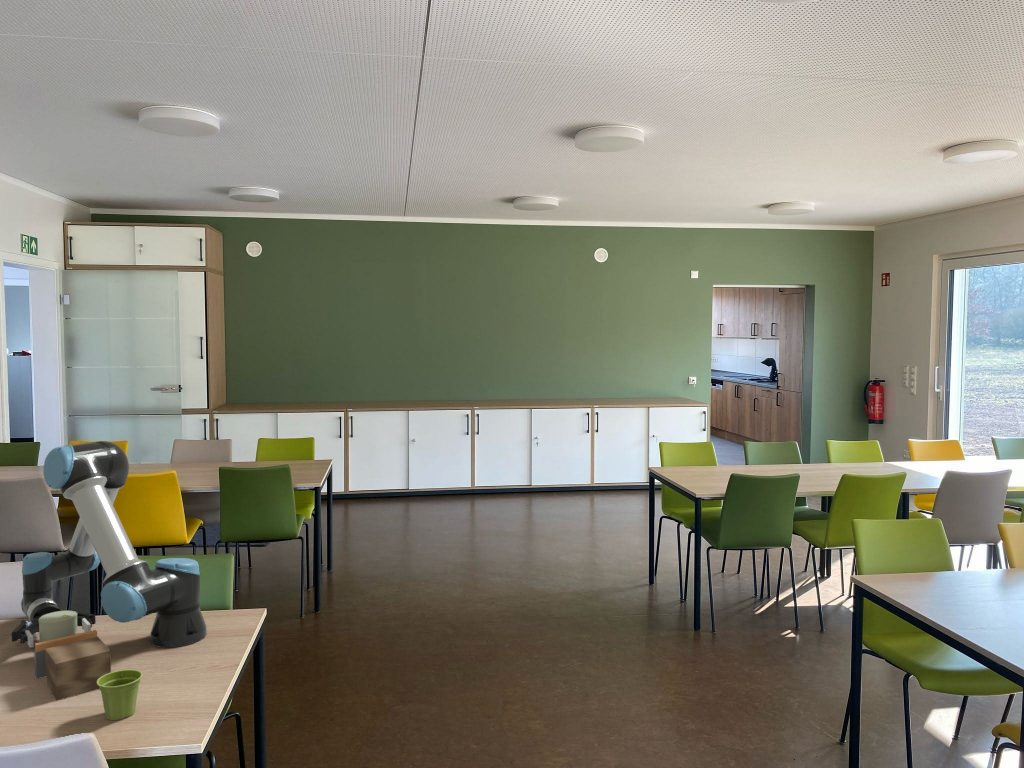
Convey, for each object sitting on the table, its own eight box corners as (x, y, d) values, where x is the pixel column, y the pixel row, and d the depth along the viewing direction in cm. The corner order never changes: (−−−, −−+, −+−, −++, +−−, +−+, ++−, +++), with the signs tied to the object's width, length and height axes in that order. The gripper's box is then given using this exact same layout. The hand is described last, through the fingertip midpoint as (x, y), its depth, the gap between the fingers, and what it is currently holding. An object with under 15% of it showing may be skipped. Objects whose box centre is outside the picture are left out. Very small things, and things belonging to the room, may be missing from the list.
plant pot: (108, 705, 179) (107, 669, 178) (149, 703, 179) (148, 668, 179) (89, 725, 169) (88, 687, 169) (133, 723, 170) (132, 686, 170)
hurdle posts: (96, 660, 204) (96, 635, 203) (99, 663, 202) (98, 637, 202) (34, 675, 194) (34, 649, 194) (36, 678, 192) (36, 652, 192)
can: (61, 665, 200) (60, 621, 200) (31, 663, 202) (29, 619, 201) (86, 652, 209) (85, 609, 209) (57, 649, 211) (56, 607, 210)
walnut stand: (98, 670, 198) (97, 636, 197) (111, 685, 189) (110, 650, 188) (46, 683, 190) (45, 648, 189) (56, 700, 181) (55, 664, 180)
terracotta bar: (95, 635, 203) (95, 629, 203) (97, 637, 202) (97, 631, 202) (35, 649, 194) (35, 643, 194) (36, 651, 192) (36, 645, 192)
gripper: (92, 617, 227) (112, 637, 211) (-7, 638, 210) (6, 662, 195) (92, 592, 227) (111, 611, 211) (-8, 612, 210) (5, 633, 194)
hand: (61, 635), depth 203 cm, fingers open, 13 cm apart
